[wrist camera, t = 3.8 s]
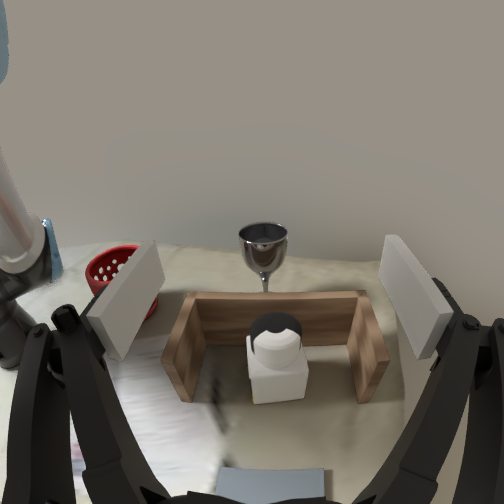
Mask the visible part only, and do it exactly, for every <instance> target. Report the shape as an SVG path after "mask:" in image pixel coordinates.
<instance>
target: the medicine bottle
mask: <svg viewBox="0 0 504 504" xmlns="http://www.w3.org/2000/svg"><path fill="white" fill-rule="evenodd" d="M249 332H250V336H247V338H246V343H247V357H248V370H249V381H250V388H251V396H252V402H253V404H262V403H272V402H281V401H288V400H296V399H302V398H304V396H305V391H306V385H307V379H308V373H309V369H308V365H307V361H306V357H305V353H304V349H303V346H302V342H301V339H302V326H301V324H300V322H299V321H298V320H297V319H296V318H294V317H293V316H291V315H289V314H287V313H283V312H270V313H266V314H263V315H261V316H260V317H258V318H257V319H256V320H254V321H253V323H252V324H251V326H250V331H249Z"/></svg>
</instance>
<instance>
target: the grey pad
mask: <svg viewBox="0 0 504 504" xmlns="http://www.w3.org/2000/svg"><path fill="white" fill-rule="evenodd" d="M215 495H219V496H223V497H226V498H229V499H232V500H235V501H238V502H242V503H245V504H270V503H275V502H279V501H284V500H288V499H296V498H312V497H323V496H324V468H321V469H306V470H254V469H239V468H228V467H219V472H218V478H217V485H216V491H215Z"/></svg>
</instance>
